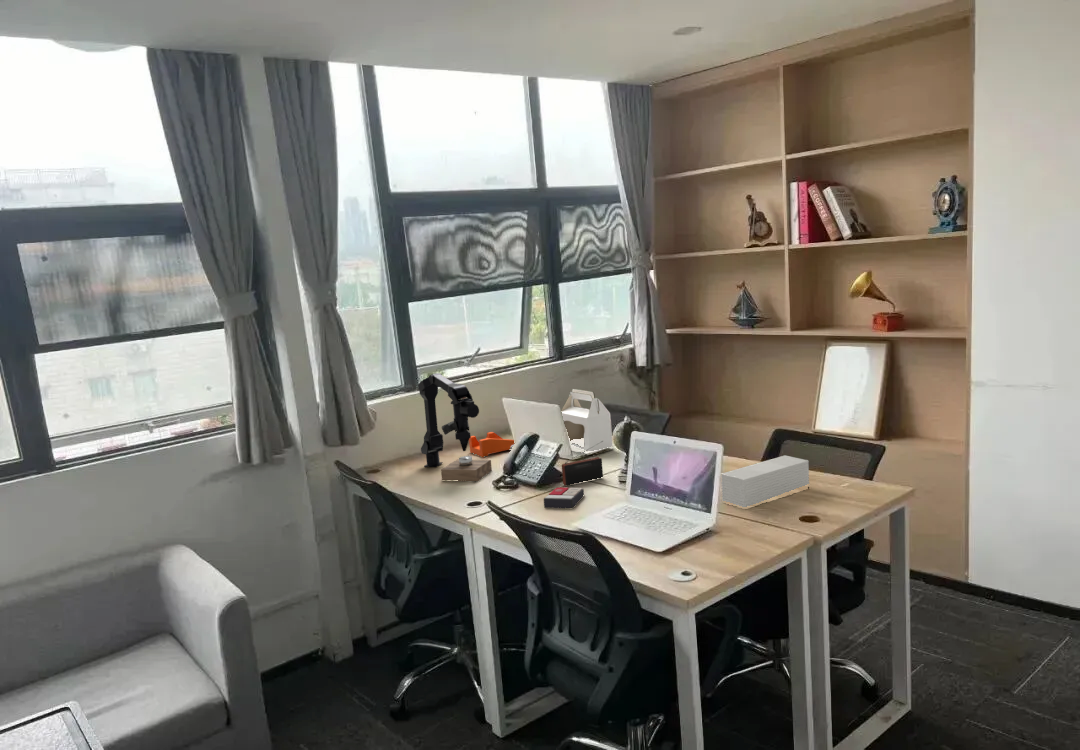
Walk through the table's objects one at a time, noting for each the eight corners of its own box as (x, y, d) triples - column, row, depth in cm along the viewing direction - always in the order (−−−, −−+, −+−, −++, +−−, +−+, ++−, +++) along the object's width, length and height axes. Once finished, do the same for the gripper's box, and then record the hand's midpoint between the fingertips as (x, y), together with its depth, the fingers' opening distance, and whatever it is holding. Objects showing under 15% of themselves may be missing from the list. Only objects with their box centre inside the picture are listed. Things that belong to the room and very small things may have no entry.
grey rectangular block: (785, 483, 285) (784, 455, 284) (809, 489, 276) (808, 460, 275) (722, 503, 269) (720, 473, 268) (745, 510, 260) (743, 479, 258)
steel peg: (464, 472, 334) (462, 455, 333) (475, 473, 332) (474, 456, 331) (458, 476, 329) (456, 459, 328) (470, 476, 327) (468, 459, 326)
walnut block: (458, 470, 341) (457, 459, 340) (491, 470, 335) (490, 459, 334) (442, 480, 326) (440, 469, 325) (476, 481, 320) (475, 470, 320)
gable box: (561, 448, 365) (557, 390, 360) (584, 443, 372) (579, 385, 368) (590, 456, 346) (586, 394, 342) (613, 450, 353) (609, 390, 349)
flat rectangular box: (583, 487, 290) (572, 497, 276) (584, 498, 290) (572, 509, 276) (556, 486, 293) (543, 496, 279) (556, 497, 294) (543, 508, 280)
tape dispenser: (482, 458, 360) (481, 440, 359) (470, 453, 371) (468, 436, 369) (515, 450, 369) (514, 433, 368) (502, 446, 380) (501, 429, 379)
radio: (566, 486, 303) (563, 449, 301) (563, 485, 306) (560, 448, 304) (608, 478, 310) (605, 441, 308) (604, 476, 313) (601, 440, 311)
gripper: (441, 413, 335) (445, 448, 337) (441, 421, 317) (445, 458, 319) (467, 410, 336) (470, 445, 339) (468, 418, 318) (472, 455, 320)
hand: (464, 451), depth 329 cm, fingers closed
